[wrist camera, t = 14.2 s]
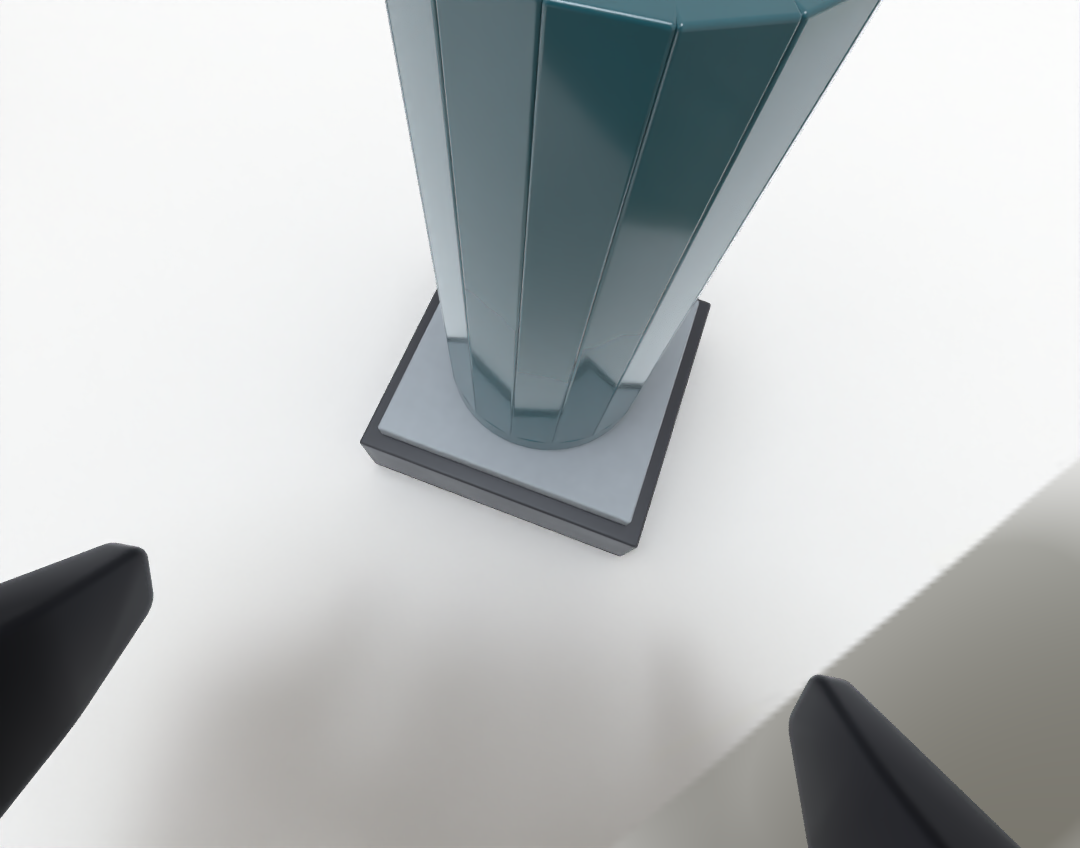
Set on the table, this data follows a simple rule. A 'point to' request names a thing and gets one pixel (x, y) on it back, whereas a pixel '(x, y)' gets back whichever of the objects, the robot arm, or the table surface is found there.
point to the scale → (524, 473)
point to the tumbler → (595, 179)
